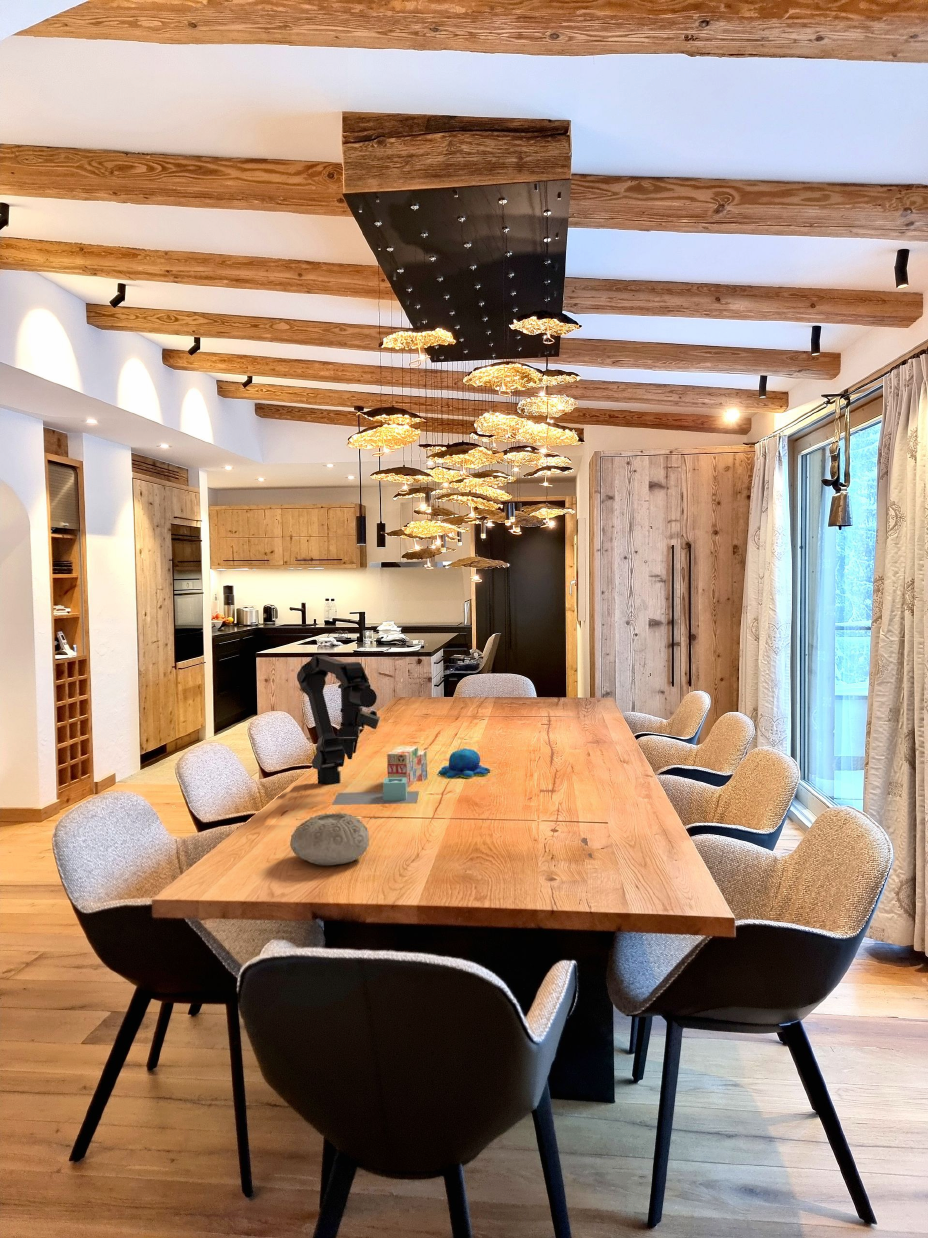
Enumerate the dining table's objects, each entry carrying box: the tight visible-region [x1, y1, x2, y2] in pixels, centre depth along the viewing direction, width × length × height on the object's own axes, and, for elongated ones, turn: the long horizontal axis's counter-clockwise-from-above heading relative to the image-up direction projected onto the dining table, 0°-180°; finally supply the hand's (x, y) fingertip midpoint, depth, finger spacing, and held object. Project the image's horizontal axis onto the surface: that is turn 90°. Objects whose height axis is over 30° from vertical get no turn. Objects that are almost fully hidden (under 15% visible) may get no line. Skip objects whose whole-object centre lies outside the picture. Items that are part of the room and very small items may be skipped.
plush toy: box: [437, 748, 491, 779], centre depth 285 cm, size 17×17×8 cm
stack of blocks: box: [386, 745, 428, 789], centre depth 269 cm, size 21×6×12 cm, turn 166°
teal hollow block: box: [382, 777, 408, 800], centre depth 247 cm, size 6×6×5 cm
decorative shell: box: [289, 811, 370, 867], centre depth 196 cm, size 18×18×10 cm
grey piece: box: [331, 781, 420, 806], centre depth 247 cm, size 24×14×6 cm, turn 91°
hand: (351, 756), depth 256 cm, fingers open, 9 cm apart
